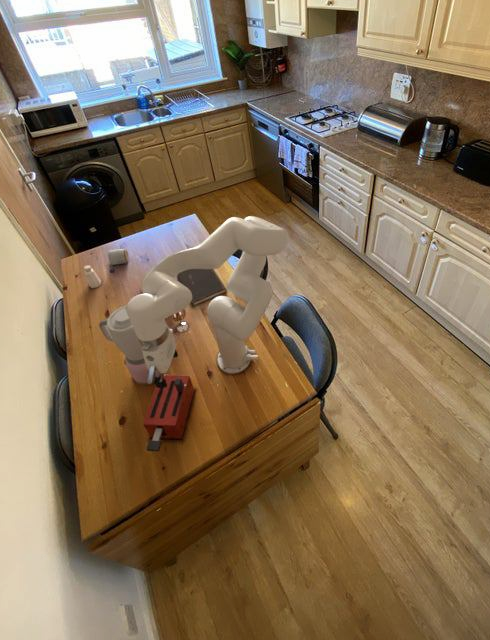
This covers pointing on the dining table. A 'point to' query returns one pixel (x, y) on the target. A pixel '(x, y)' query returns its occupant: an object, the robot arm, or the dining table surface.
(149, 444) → the bread lever
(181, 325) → the wineglass
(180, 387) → the browning slider
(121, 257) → the ceramic mug
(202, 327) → the dining table surface
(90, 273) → the pepper shaker
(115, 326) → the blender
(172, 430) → the toaster
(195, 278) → the hardcover book
